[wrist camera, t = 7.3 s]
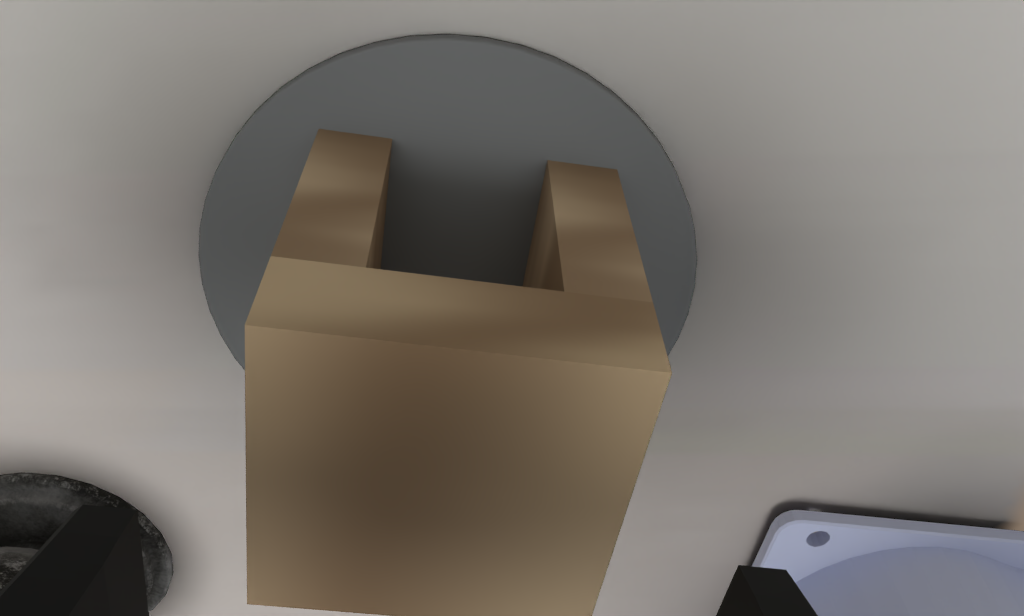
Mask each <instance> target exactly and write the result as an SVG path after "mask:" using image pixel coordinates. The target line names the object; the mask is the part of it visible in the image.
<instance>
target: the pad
mask: <svg viewBox="0 0 1024 616" xmlns="http://www.w3.org/2000/svg"><path fill="white" fill-rule="evenodd" d="M318 129H325V130H332V131H339V132H347V133H354V134H361V135H369V136H376V137H383V138H390V139H392V148H391V159H390V170H389V181H388V192H387V203H386V214H385V225H384V236H383V247H382V258H381V269H382V270H390V271H398V272H407V273H415V274H423V275H431V276H440V277H448V278H456V279H464V280H473V281H481V282H489V283H497V284H506V285H514V286H523V281H524V276H525V271H526V266H527V261H528V256H529V251H530V246H531V241H532V236H533V231H534V226H535V221H536V216H537V211H538V205H539V200H540V195H541V190H542V185H543V180H544V175H545V170H546V165H547V160H551V161H558V162H566V163H573V164H580V165H588V166H595V167H602V168H610V169H617V171H618V174H619V178H620V182H621V186H622V189H623V193H624V197H625V200H626V204H627V208H628V212H629V215H630V219H631V223H632V226H633V230H634V234H635V237H636V241H637V245H638V249H639V252H640V256H641V260H642V263H643V267H644V271H645V275H646V278H647V282H648V286H649V289H650V293H651V297H652V301H653V304H654V308H655V312H656V315H657V319H658V323H659V327H660V330H661V334H662V338H663V341H664V345H665V349H666V353H667V356H668V355H669V353H670V351H671V350H672V348H673V346H674V344H675V343H676V341H677V339H678V337H679V335H680V332H681V330H682V327H683V325H684V322H685V320H686V317H687V315H688V312H689V308H690V304H691V300H692V296H693V291H694V287H695V276H696V264H697V255H696V240H695V230H694V226H693V222H692V217H691V213H690V208H689V204H688V202H687V199H686V196H685V194H684V191H683V189H682V186H681V184H680V181H679V179H678V176H677V174H676V171H675V169H674V166H673V165H672V163H671V161H670V159H669V158H668V156H667V154H666V153H665V151H664V149H663V147H662V146H661V144H660V142H659V141H658V139H657V138H656V137H655V136H654V134H653V133H652V132H651V131H650V129H649V128H648V127H647V126H646V124H645V123H644V122H643V121H642V119H641V118H640V117H639V116H638V115H637V114H636V113H635V112H634V111H633V110H632V109H631V108H630V107H629V106H628V105H627V104H626V103H624V102H623V101H622V100H621V99H620V98H619V97H618V96H617V95H616V94H615V93H614V92H612V91H611V90H609V89H608V88H606V87H605V86H604V85H602V84H601V83H599V82H598V81H596V80H595V79H594V78H592V77H591V76H589V75H588V74H586V73H585V72H583V71H581V70H579V69H577V68H575V67H573V66H571V65H569V64H567V63H565V62H563V61H561V60H559V59H557V58H555V57H553V56H550V55H547V54H544V53H542V52H539V51H536V50H533V49H530V48H528V47H525V46H522V45H518V44H514V43H509V42H504V41H500V40H495V39H490V38H486V37H475V36H463V35H451V34H441V35H421V36H408V37H402V38H397V39H391V40H385V41H380V42H374V43H371V44H368V45H365V46H362V47H359V48H356V49H353V50H350V51H347V52H344V53H340V54H338V55H336V56H334V57H332V58H330V59H328V60H326V61H324V62H322V63H320V64H318V65H316V66H314V67H311V68H309V69H308V70H306V71H305V72H303V73H302V74H300V75H299V76H297V77H296V78H294V79H293V80H291V81H290V82H288V83H287V84H285V85H284V86H283V87H281V88H280V89H279V90H278V91H276V92H275V93H274V94H273V95H272V96H271V97H270V98H269V99H268V100H267V101H266V102H265V103H263V104H262V105H261V106H260V107H259V108H258V109H257V110H256V111H255V112H254V114H253V115H252V116H251V117H250V119H249V120H248V121H247V122H246V123H245V125H244V126H243V127H242V128H241V130H240V131H239V132H238V133H237V135H236V137H235V138H234V140H233V142H232V144H231V145H230V147H229V149H228V151H227V152H226V154H225V156H224V158H223V159H222V161H221V163H220V165H219V166H218V168H217V170H216V172H215V175H214V177H213V180H212V183H211V185H210V188H209V191H208V194H207V196H206V199H205V204H204V209H203V214H202V219H201V224H200V235H199V262H200V270H201V278H202V285H203V288H204V292H205V295H206V299H207V302H208V306H209V310H210V312H211V314H212V317H213V319H214V321H215V323H216V326H217V328H218V330H219V332H220V335H221V336H222V338H223V340H224V341H225V343H226V344H227V346H228V348H229V349H230V351H231V353H232V354H233V356H234V357H235V359H236V360H237V361H238V363H239V364H240V365H241V366H242V368H243V369H244V370H245V323H246V320H247V317H248V315H249V312H250V310H251V307H252V304H253V302H254V299H255V296H256V294H257V291H258V288H259V286H260V283H261V280H262V278H263V275H264V272H265V270H266V267H267V264H268V262H269V259H270V257H271V254H272V251H273V249H274V246H275V243H276V241H277V238H278V235H279V233H280V230H281V227H282V225H283V222H284V219H285V217H286V214H287V212H288V209H289V206H290V204H291V201H292V198H293V196H294V193H295V190H296V188H297V185H298V182H299V180H300V177H301V174H302V172H303V169H304V166H305V164H306V161H307V159H308V156H309V153H310V151H311V148H312V145H313V143H314V140H315V137H316V135H317V132H318Z"/></svg>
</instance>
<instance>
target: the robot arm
mask: <svg viewBox="0 0 1024 616" xmlns="http://www.w3.org/2000/svg"><path fill="white" fill-rule="evenodd" d="M816 531H818V532H816ZM813 532H816V533H813ZM0 616H149V612H148V602H147V593H146V584H145V575H144V565H143V556H142V547H141V537H140V528H139V519H138V510H137V509H127V508H116V507H105V506H94V505H82V506H80V507H78V508H77V509H75V510H74V511H73V512H72V513H71V514H70V515H69V517H68V518H67V519H66V520H65V521H64V522H63V523H62V525H61V526H60V527H59V528H58V529H57V530H56V531H55V532H54V534H53V535H52V536H51V537H50V538H49V539H48V540H47V541H46V542H45V544H44V545H43V546H42V547H41V548H40V549H39V550H38V551H37V552H36V554H35V555H34V556H33V557H32V558H31V559H30V560H29V561H28V562H27V563H26V565H25V566H24V567H23V568H22V569H21V570H20V571H19V572H18V573H17V574H16V575H15V576H14V577H13V579H12V580H11V581H10V582H9V583H8V584H7V585H6V586H5V587H4V588H3V589H2V590H1V591H0ZM716 616H1024V531H1016V530H1005V529H995V528H984V527H974V526H963V525H953V524H942V523H932V522H921V521H911V520H900V519H889V518H879V517H868V516H858V515H847V514H837V513H826V512H816V511H805V510H790V511H787V512H784V513H782V514H780V515H779V516H777V517H776V518H775V519H774V521H773V522H772V524H771V526H770V528H769V530H768V532H767V534H766V537H765V539H764V541H763V543H762V545H761V547H760V550H759V552H758V554H757V556H756V558H755V560H754V563H753V565H752V566H741V565H738V568H737V570H736V572H735V574H734V577H733V579H732V581H731V583H730V586H729V588H728V590H727V592H726V595H725V597H724V599H723V601H722V604H721V606H720V608H719V610H718V613H717V615H716Z"/></svg>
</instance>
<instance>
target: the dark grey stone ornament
mask: <svg viewBox="0 0 1024 616" xmlns="http://www.w3.org/2000/svg"><path fill="white" fill-rule="evenodd" d="M82 505H94V506H105V507H116V508H127V509H135V508H134V507H132V506H131V505H129V504H128V503H126V502H125V501H123V500H122V499H121V498H119V497H117V496H115V495H112V494H110V493H108V492H106V491H103V490H101V489H99V488H97V487H95V486H92V485H90V484H87V483H83V482H79V481H75V480H71V479H67V478H64V477H60V476H54V475H42V474H30V473H18V474H9V475H0V591H1V590H2V589H3V588H4V587H5V586H6V585H7V584H8V583H9V582H10V581H11V580H12V579H13V577H14V576H15V575H16V574H17V573H18V572H19V571H20V570H21V569H22V568H23V567H24V566H25V565H26V563H27V562H28V561H29V560H30V559H31V558H32V557H33V556H34V555H35V554H36V552H37V551H38V550H39V549H40V548H41V547H42V546H43V545H44V544H45V542H46V541H47V540H48V539H49V538H50V537H51V536H52V535H53V534H54V532H55V531H56V530H57V529H58V528H59V527H60V526H61V525H62V523H63V522H64V521H65V520H66V519H67V518H68V517H69V515H70V514H71V513H72V512H73V511H74V510H75V509H77V508H78V507H80V506H82ZM138 519H139V528H140V537H141V547H142V556H143V565H144V575H145V584H146V593H147V602H148V612H149V611H151V610H153V609H154V607H155V606H156V605H157V604H158V603H159V602H160V601H161V600H162V598H163V597H164V596H165V595H166V593H167V590H168V587H169V584H170V581H171V578H172V575H173V566H172V556H171V552H170V550H169V548H168V546H167V544H166V542H165V540H164V538H163V536H162V534H161V533H160V532H159V531H158V530H157V528H156V527H155V526H154V525H153V524H152V523H151V522H150V521H149V520H148V519H147V518H146V516H145V515H144V514H142V513H141V512H139V511H138Z"/></svg>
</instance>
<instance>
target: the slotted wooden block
mask: <svg viewBox="0 0 1024 616" xmlns="http://www.w3.org/2000/svg"><path fill="white" fill-rule="evenodd" d="M391 148H392V139H390V138H383V137H376V136H369V135H361V134H354V133H347V132H339V131H332V130H325V129H318V132H317V135H316V137H315V140H314V143H313V145H312V148H311V151H310V153H309V156H308V159H307V161H306V164H305V166H304V169H303V172H302V174H301V177H300V180H299V182H298V185H297V188H296V190H295V193H294V196H293V198H292V201H291V204H290V206H289V209H288V212H287V214H286V217H285V219H284V222H283V225H282V227H281V230H280V233H279V235H278V238H277V241H276V243H275V246H274V249H273V251H272V254H271V257H270V259H269V262H268V264H267V267H266V270H265V272H264V275H263V278H262V280H261V283H260V286H259V288H258V291H257V294H256V296H255V299H254V302H253V304H252V307H251V310H250V312H249V315H248V317H247V320H246V323H245V417H246V528H247V604H253V605H265V606H278V607H290V608H303V609H315V610H328V611H340V612H353V613H365V614H378V615H390V616H592V613H593V610H594V607H595V604H596V601H597V598H598V595H599V592H600V589H601V586H602V583H603V580H604V577H605V574H606V571H607V568H608V565H609V562H610V559H611V556H612V553H613V550H614V547H615V544H616V541H617V538H618V535H619V532H620V529H621V526H622V523H623V520H624V517H625V514H626V511H627V508H628V505H629V502H630V499H631V496H632V493H633V490H634V486H635V483H636V480H637V477H638V474H639V471H640V468H641V465H642V462H643V459H644V456H645V453H646V450H647V447H648V444H649V441H650V438H651V435H652V432H653V429H654V426H655V423H656V420H657V417H658V414H659V411H660V408H661V405H662V402H663V399H664V396H665V393H666V390H667V387H668V384H669V381H670V378H671V375H672V371H671V367H670V364H669V360H668V356H667V353H666V349H665V345H664V341H663V338H662V334H661V330H660V327H659V323H658V319H657V315H656V312H655V308H654V304H653V301H652V297H651V293H650V289H649V286H648V282H647V278H646V275H645V271H644V267H643V263H642V260H641V256H640V252H639V249H638V245H637V241H636V237H635V234H634V230H633V226H632V223H631V219H630V215H629V212H628V208H627V204H626V200H625V197H624V193H623V189H622V186H621V182H620V178H619V174H618V171H617V169H610V168H602V167H595V166H588V165H580V164H573V163H566V162H558V161H551V160H547V165H546V170H545V175H544V180H543V185H542V190H541V195H540V200H539V205H538V211H537V216H536V221H535V226H534V231H533V236H532V241H531V246H530V251H529V256H528V261H527V266H526V271H525V276H524V281H523V286H514V285H506V284H497V283H489V282H481V281H473V280H464V279H456V278H448V277H440V276H431V275H423V274H415V273H407V272H398V271H390V270H382V269H381V258H382V247H383V236H384V225H385V214H386V203H387V192H388V181H389V170H390V159H391Z"/></svg>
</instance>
